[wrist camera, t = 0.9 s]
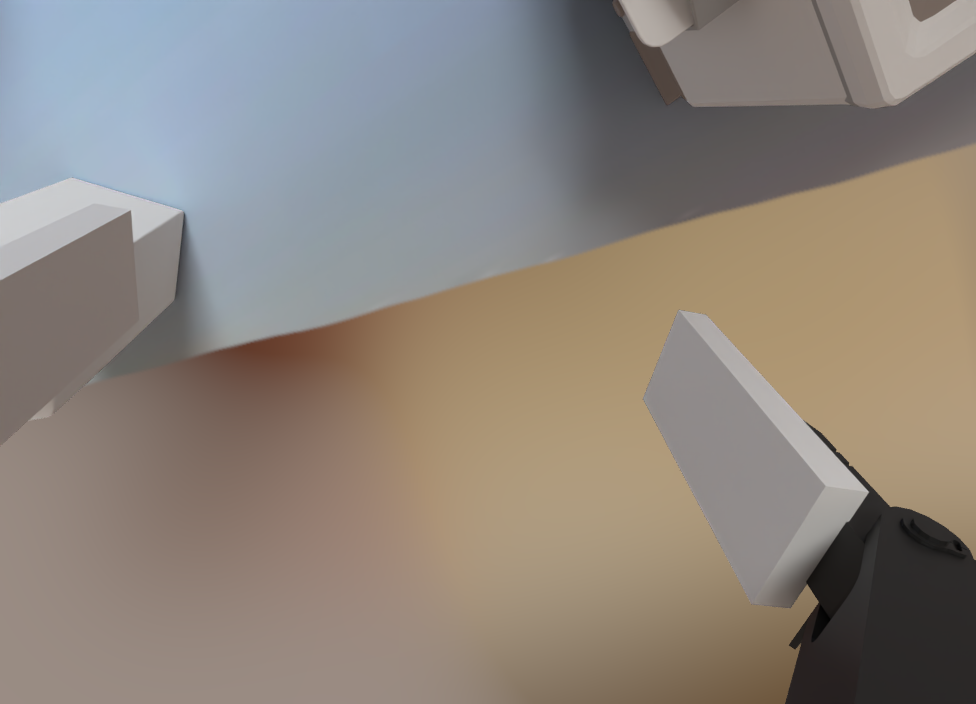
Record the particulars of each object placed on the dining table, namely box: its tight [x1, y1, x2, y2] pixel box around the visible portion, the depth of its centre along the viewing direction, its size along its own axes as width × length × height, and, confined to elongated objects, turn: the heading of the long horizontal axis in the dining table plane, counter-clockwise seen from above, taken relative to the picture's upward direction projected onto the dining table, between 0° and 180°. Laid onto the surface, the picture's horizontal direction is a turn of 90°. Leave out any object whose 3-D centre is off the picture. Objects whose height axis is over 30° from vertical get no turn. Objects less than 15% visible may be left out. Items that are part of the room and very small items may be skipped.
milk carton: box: [0, 178, 184, 420], centre depth 32 cm, size 7×7×19 cm
